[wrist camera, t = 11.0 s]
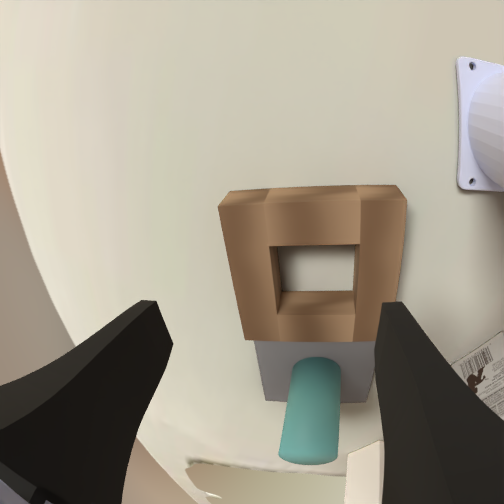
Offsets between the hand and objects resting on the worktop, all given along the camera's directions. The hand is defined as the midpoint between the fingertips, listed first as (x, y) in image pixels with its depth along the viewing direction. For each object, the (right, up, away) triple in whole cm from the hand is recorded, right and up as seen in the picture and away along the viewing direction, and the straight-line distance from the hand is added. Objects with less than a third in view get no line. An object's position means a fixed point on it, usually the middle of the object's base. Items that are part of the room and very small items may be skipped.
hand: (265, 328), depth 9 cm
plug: (+5, -8, +15) cm, 18 cm away
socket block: (+4, +2, +10) cm, 11 cm away
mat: (+5, -8, +16) cm, 18 cm away
